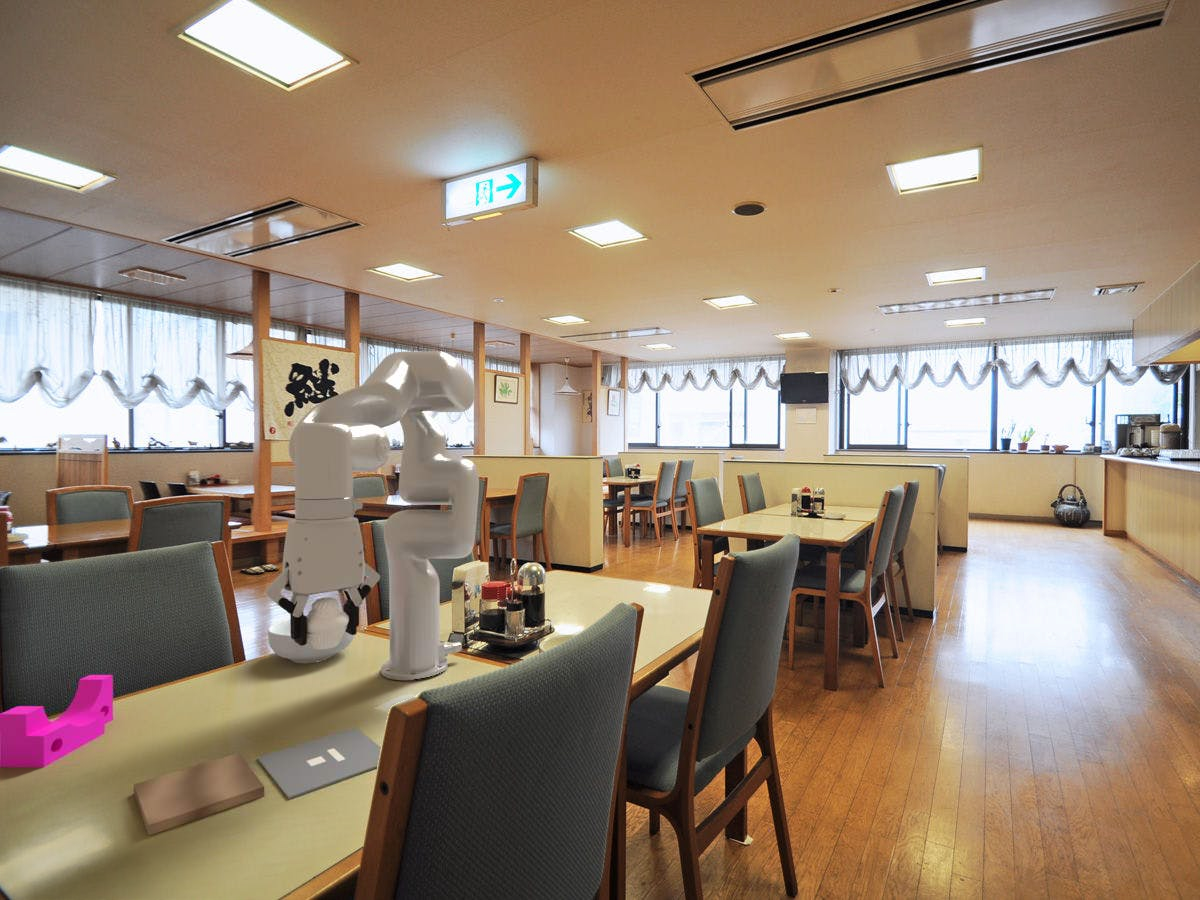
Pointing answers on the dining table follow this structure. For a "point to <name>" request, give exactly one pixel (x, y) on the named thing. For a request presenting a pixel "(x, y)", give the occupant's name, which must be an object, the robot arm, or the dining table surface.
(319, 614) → the muffin
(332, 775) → the tile
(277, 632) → the cereal bowl
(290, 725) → the dining table surface
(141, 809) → the walnut pad
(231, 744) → the dining table surface
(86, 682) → the magenta cradle bracket
